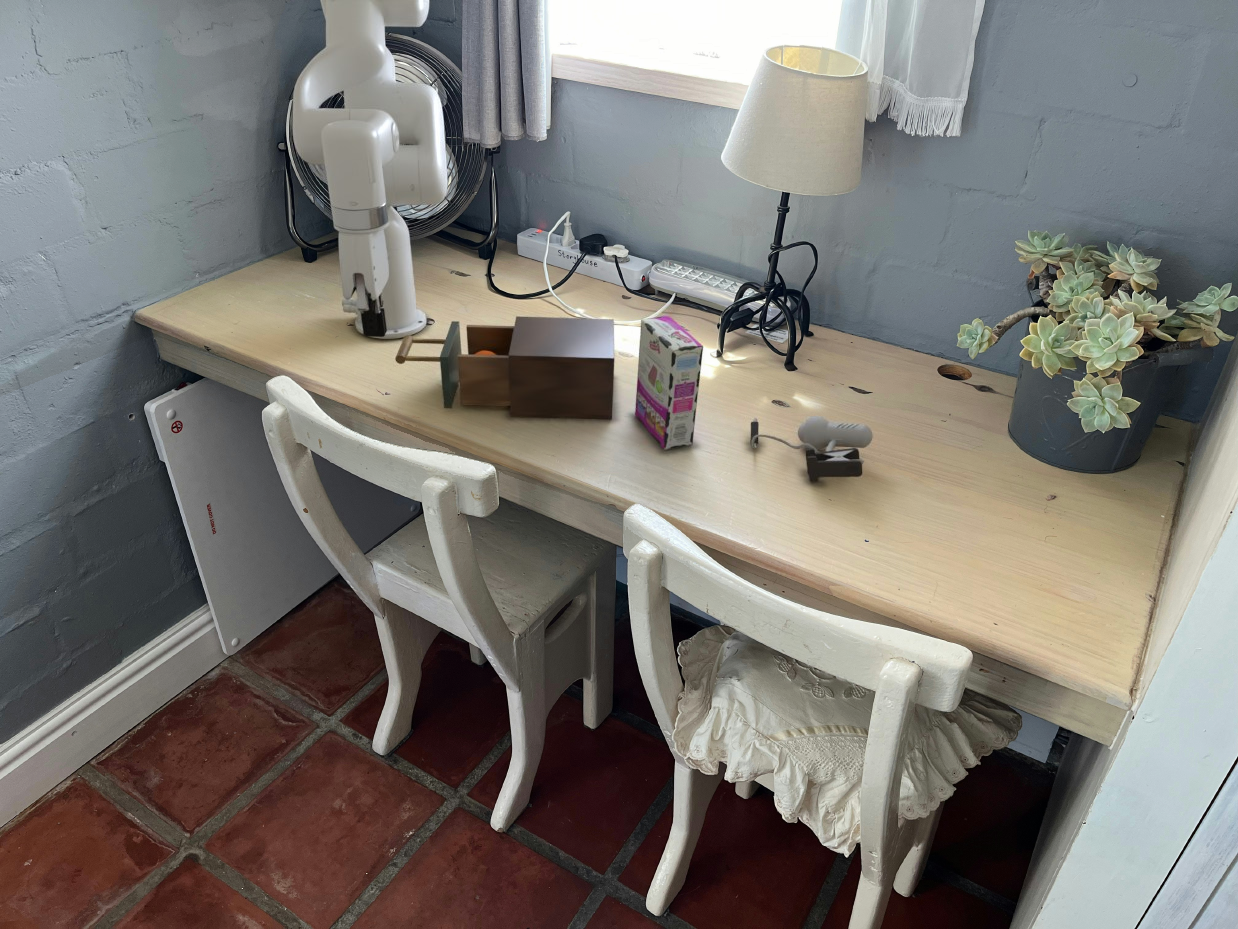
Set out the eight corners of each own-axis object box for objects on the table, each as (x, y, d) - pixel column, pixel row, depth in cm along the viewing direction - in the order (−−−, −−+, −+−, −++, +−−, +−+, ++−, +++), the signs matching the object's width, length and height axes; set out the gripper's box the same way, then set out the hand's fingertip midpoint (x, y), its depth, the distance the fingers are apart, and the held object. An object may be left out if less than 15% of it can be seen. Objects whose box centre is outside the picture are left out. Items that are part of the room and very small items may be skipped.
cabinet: (510, 417, 134) (508, 355, 128) (517, 374, 145) (516, 316, 139) (612, 419, 135) (614, 358, 129) (611, 377, 146) (613, 319, 140)
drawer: (396, 407, 134) (390, 355, 129) (411, 368, 144) (405, 319, 139) (538, 410, 134) (537, 359, 129) (543, 372, 145) (542, 323, 140)
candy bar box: (694, 445, 130) (705, 345, 120) (664, 451, 128) (672, 351, 119) (662, 409, 138) (669, 313, 129) (633, 414, 136) (639, 317, 127)
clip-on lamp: (736, 478, 128) (861, 489, 120) (731, 442, 124) (859, 451, 116) (759, 434, 136) (877, 441, 128) (755, 399, 133) (876, 404, 125)
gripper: (346, 198, 129) (362, 313, 139) (318, 232, 117) (338, 355, 127) (397, 200, 129) (409, 315, 140) (375, 233, 117) (390, 357, 127)
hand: (375, 334), depth 133 cm, fingers closed
